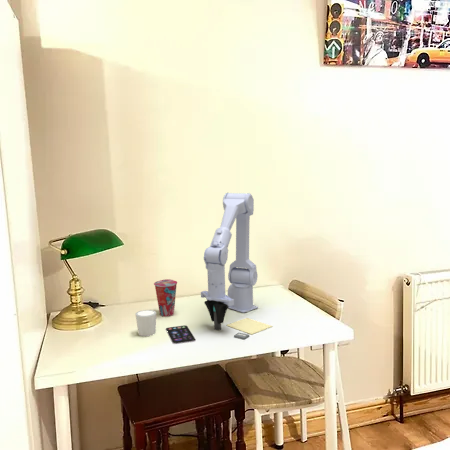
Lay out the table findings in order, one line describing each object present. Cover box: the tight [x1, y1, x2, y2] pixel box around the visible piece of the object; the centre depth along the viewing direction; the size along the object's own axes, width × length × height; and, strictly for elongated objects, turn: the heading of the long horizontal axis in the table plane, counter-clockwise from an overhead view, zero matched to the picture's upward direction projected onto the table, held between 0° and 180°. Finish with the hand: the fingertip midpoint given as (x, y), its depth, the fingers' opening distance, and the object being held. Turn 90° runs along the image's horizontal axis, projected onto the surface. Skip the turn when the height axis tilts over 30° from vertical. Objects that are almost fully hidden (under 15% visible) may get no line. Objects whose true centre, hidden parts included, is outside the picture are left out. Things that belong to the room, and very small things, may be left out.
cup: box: [153, 278, 178, 318], centre depth 185 cm, size 9×8×12 cm
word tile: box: [233, 332, 250, 340], centre depth 162 cm, size 4×3×1 cm
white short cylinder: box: [135, 309, 157, 337], centre depth 167 cm, size 7×7×7 cm
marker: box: [213, 306, 222, 331], centre depth 169 cm, size 3×3×8 cm
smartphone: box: [165, 324, 197, 345], centre depth 166 cm, size 8×1×15 cm
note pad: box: [226, 317, 273, 336], centre depth 172 cm, size 12×10×1 cm
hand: (217, 321), depth 170 cm, fingers closed on marker, 2 cm apart
